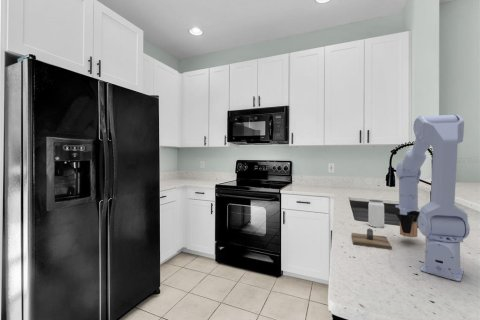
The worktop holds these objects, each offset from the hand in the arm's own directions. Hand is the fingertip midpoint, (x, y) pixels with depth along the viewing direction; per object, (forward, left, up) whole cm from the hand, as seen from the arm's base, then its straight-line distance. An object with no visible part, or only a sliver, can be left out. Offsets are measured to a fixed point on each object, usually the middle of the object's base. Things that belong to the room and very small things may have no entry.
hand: (408, 231), depth 86 cm
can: (+16, +16, -5) cm, 23 cm away
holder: (-10, +10, -4) cm, 15 cm away
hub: (0, 0, -1) cm, 1 cm away
